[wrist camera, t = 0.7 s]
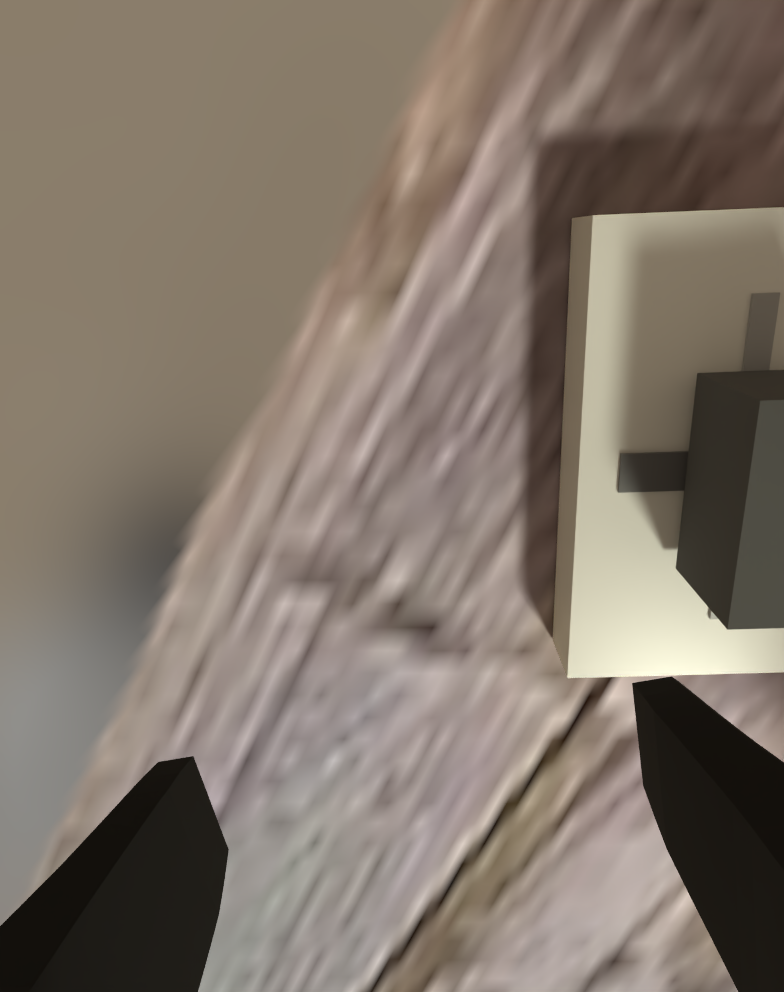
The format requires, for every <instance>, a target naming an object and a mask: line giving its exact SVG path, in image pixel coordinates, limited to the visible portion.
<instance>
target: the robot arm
mask: <svg viewBox="0 0 784 992" xmlns="http://www.w3.org/2000/svg"><path fill="white" fill-rule="evenodd" d="M632 685H633V695H634V704H635V713H636V722H637V732H638V741H639V750H640V760H641V769H642V778H643V786H644V789H645V792H646V794H647V797H648V800H649V803H650V805H651V808H652V811H653V814H654V816H655V819H656V822H657V824H658V827H659V830H660V832H661V835H662V837H663V840H664V843H665V845H666V848H667V850H668V852H669V854H670V856H671V858H672V860H673V862H674V865H675V867H676V869H677V871H678V873H679V875H680V877H681V879H682V881H683V883H684V885H685V887H686V889H687V891H688V893H689V895H690V897H691V899H692V901H693V903H694V905H695V907H696V909H697V911H698V913H699V915H700V916H701V918H702V920H703V922H704V924H705V926H706V928H707V930H708V932H709V934H710V936H711V938H712V940H713V942H714V944H715V946H716V948H717V950H718V952H719V954H720V956H721V958H722V960H723V962H724V964H725V966H726V968H727V970H728V972H729V974H730V976H731V978H732V980H733V982H734V984H735V986H736V988H737V990H738V992H784V762H782V761H781V760H780V759H778V758H777V757H775V756H774V755H773V754H771V753H770V752H769V751H767V750H766V749H764V748H763V747H762V746H760V745H759V744H758V743H756V742H755V741H753V740H752V739H751V738H749V737H748V736H747V735H745V734H744V733H743V732H742V731H740V730H739V729H738V728H736V727H735V726H734V725H732V724H731V723H730V722H729V721H727V720H726V719H725V718H724V717H722V716H721V715H720V714H718V713H717V712H716V711H715V710H713V709H712V708H711V707H710V706H708V705H707V704H706V703H705V702H703V701H702V700H701V699H700V698H699V697H697V696H696V695H695V694H694V693H692V692H691V691H690V690H689V689H687V688H686V687H685V686H684V685H682V684H681V683H680V682H679V681H677V680H676V679H674V678H673V677H666V678H660V679H654V680H648V681H642V682H636V683H632ZM227 857H228V847H227V844H226V842H225V839H224V837H223V834H222V831H221V829H220V826H219V823H218V821H217V818H216V815H215V813H214V810H213V807H212V805H211V802H210V799H209V797H208V794H207V791H206V789H205V786H204V784H203V781H202V778H201V776H200V773H199V770H198V768H197V765H196V762H195V760H194V757H193V756H192V757H186V758H180V759H174V760H168V761H162V762H158V763H157V764H156V765H155V766H154V767H153V768H152V769H151V770H150V771H149V772H148V773H147V774H146V775H145V776H144V777H143V778H142V779H141V780H140V781H139V782H138V783H137V784H136V785H135V786H134V787H133V788H132V790H131V791H130V792H129V793H128V794H127V795H126V796H125V797H124V798H123V799H122V800H121V801H120V802H119V804H118V805H117V806H116V807H115V808H114V809H113V810H112V811H111V812H110V813H109V814H108V816H107V817H106V818H105V819H104V820H103V821H102V822H101V823H100V824H99V825H98V826H97V827H96V829H95V830H94V831H93V832H92V833H91V834H90V835H89V836H88V837H87V838H86V839H85V840H84V841H83V842H82V844H81V845H80V846H79V847H78V848H77V849H76V850H75V851H74V852H73V853H72V854H71V855H70V856H69V857H68V859H67V860H66V861H65V862H64V863H63V864H62V865H61V866H60V867H59V868H58V869H57V870H56V871H55V872H54V873H53V874H52V875H51V876H50V877H49V878H48V879H47V880H46V881H45V882H44V883H43V884H42V885H41V886H40V887H39V888H38V889H37V890H36V891H35V892H34V893H33V894H32V895H31V896H30V897H29V898H28V899H27V900H26V901H25V902H24V903H23V904H22V905H21V906H20V907H19V908H18V909H17V910H16V911H15V912H14V913H13V914H12V915H11V916H10V917H9V918H8V919H7V920H6V921H5V922H4V923H3V924H2V925H1V926H0V992H198V989H199V986H200V982H201V979H202V975H203V971H204V968H205V964H206V961H207V957H208V953H209V950H210V946H211V942H212V939H213V935H214V931H215V927H216V923H217V920H218V916H219V910H220V904H221V898H222V892H223V886H224V879H225V872H226V865H227Z"/></svg>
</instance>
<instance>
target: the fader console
mask: <svg viewBox="0 0 784 992" xmlns="http://www.w3.org/2000/svg"><path fill="white" fill-rule="evenodd" d="M765 370H784V207H775V208H752V209H728V210H704V211H681V212H657V213H633V214H610V215H591V216H584V217H577V218H572V227H571V249H570V270H569V292H568V314H567V336H566V358H565V380H564V401H563V423H562V445H561V467H560V489H559V511H558V533H557V554H556V576H555V598H554V620H553V642H554V645H555V647H556V650H557V652H558V655H559V658H560V660H561V663H562V665H563V668H564V671H565V673H566V676H567V678H589V677H626V676H664V675H701V674H739V673H777V672H784V628H770V629H734V630H727V629H726V627H725V626H724V625H723V624H722V623H721V622H720V620H719V619H718V618H717V617H716V616H715V614H714V613H713V612H712V611H711V610H710V609H709V607H708V606H707V605H706V604H705V603H704V601H703V600H702V599H701V598H700V597H699V596H698V594H697V593H696V592H695V591H694V590H693V588H692V587H691V586H690V585H689V584H688V583H687V581H686V580H685V579H684V578H683V577H682V575H681V574H680V573H679V572H678V571H677V569H676V560H677V551H678V542H679V533H680V524H681V515H682V506H683V497H684V488H685V479H686V470H687V461H688V452H689V443H690V434H691V425H692V416H693V407H694V397H695V388H696V379H697V373H710V372H738V371H765Z"/></svg>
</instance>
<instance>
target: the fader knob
mask: <svg viewBox="0 0 784 992" xmlns="http://www.w3.org/2000/svg"><path fill="white" fill-rule="evenodd" d="M676 569H677V571H678V572H679V573H680V574H681V575H682V577H683V578H684V579H685V580H686V581H687V583H688V584H689V585H690V586H691V587H692V588H693V590H694V591H695V592H696V593H697V594H698V596H699V597H700V598H701V599H702V600H703V601H704V603H705V604H706V605H707V606H708V607H709V609H710V610H711V611H712V612H713V613H714V614H715V616H716V617H717V618H718V619H719V620H720V622H721V623H722V624H723V625H724V626H725V627H726V629H727V630H734V629H770V628H784V370H765V371H738V372H710V373H697V379H696V388H695V397H694V407H693V416H692V425H691V434H690V443H689V452H688V461H687V470H686V479H685V488H684V497H683V506H682V515H681V524H680V533H679V542H678V551H677V560H676Z"/></svg>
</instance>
